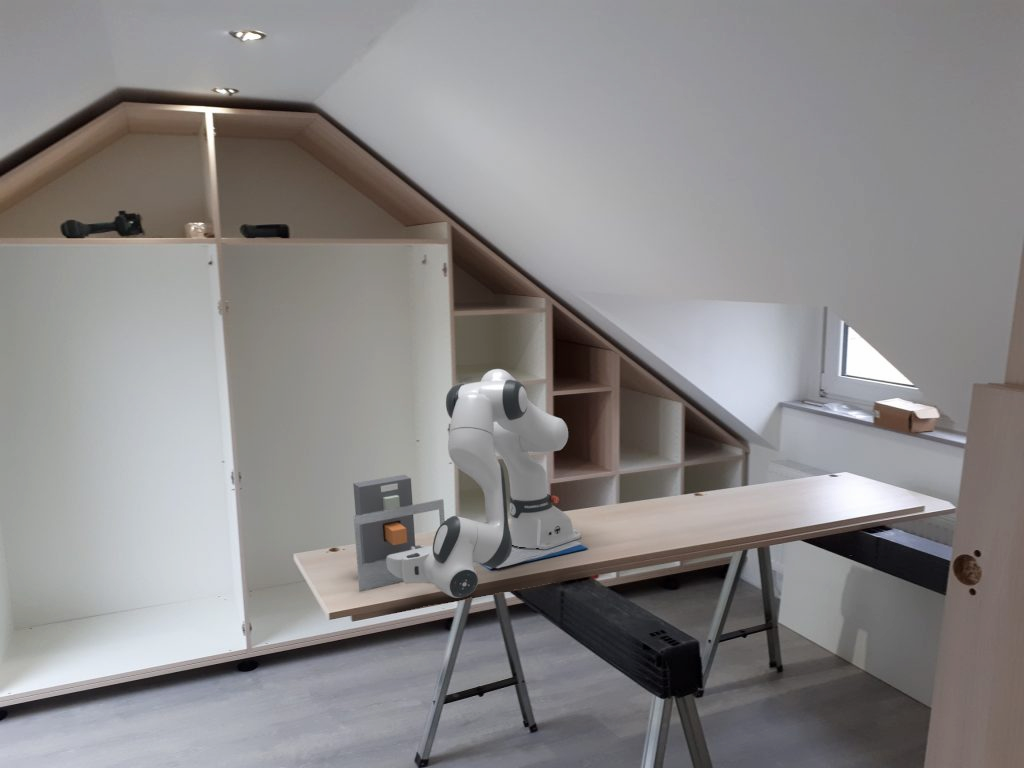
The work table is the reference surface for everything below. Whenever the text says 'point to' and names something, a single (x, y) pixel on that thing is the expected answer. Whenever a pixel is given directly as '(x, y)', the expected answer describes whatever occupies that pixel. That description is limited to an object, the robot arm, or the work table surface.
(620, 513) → the work table surface
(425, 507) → the frame
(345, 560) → the work table surface
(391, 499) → the panel
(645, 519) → the work table surface
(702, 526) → the work table surface
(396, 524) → the plunger
